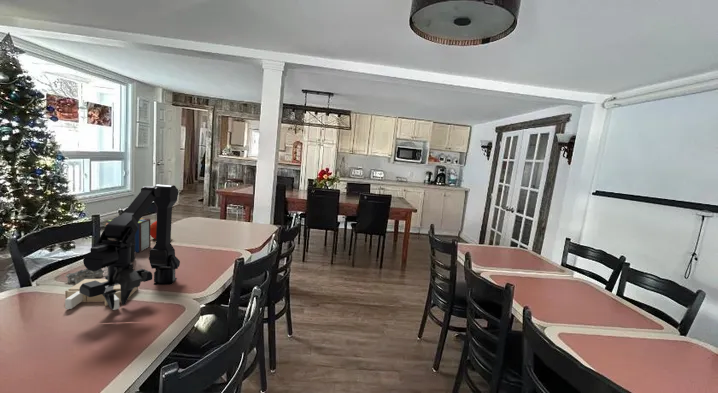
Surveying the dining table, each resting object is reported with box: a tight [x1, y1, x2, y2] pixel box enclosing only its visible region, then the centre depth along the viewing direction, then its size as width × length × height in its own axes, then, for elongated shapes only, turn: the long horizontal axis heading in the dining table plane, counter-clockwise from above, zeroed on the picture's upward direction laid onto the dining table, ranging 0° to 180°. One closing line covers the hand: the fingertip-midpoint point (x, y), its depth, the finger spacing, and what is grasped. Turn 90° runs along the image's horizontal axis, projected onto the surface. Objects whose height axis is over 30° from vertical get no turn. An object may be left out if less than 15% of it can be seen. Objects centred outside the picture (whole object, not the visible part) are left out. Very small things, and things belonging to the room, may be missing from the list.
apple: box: [150, 220, 157, 240], centre depth 184 cm, size 10×10×12 cm
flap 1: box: [64, 290, 87, 310], centre depth 103 cm, size 6×7×4 cm
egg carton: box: [64, 268, 106, 285], centre depth 124 cm, size 11×8×4 cm
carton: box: [67, 278, 139, 303], centre depth 112 cm, size 17×10×4 cm, turn 103°
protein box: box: [106, 217, 152, 253], centre depth 162 cm, size 10×15×16 cm
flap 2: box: [104, 291, 121, 311], centre depth 105 cm, size 6×7×4 cm
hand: (117, 306), depth 103 cm, fingers open, 3 cm apart
